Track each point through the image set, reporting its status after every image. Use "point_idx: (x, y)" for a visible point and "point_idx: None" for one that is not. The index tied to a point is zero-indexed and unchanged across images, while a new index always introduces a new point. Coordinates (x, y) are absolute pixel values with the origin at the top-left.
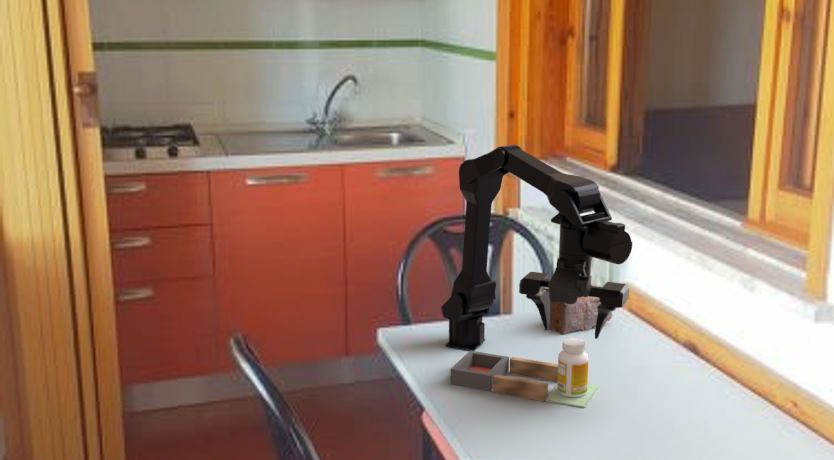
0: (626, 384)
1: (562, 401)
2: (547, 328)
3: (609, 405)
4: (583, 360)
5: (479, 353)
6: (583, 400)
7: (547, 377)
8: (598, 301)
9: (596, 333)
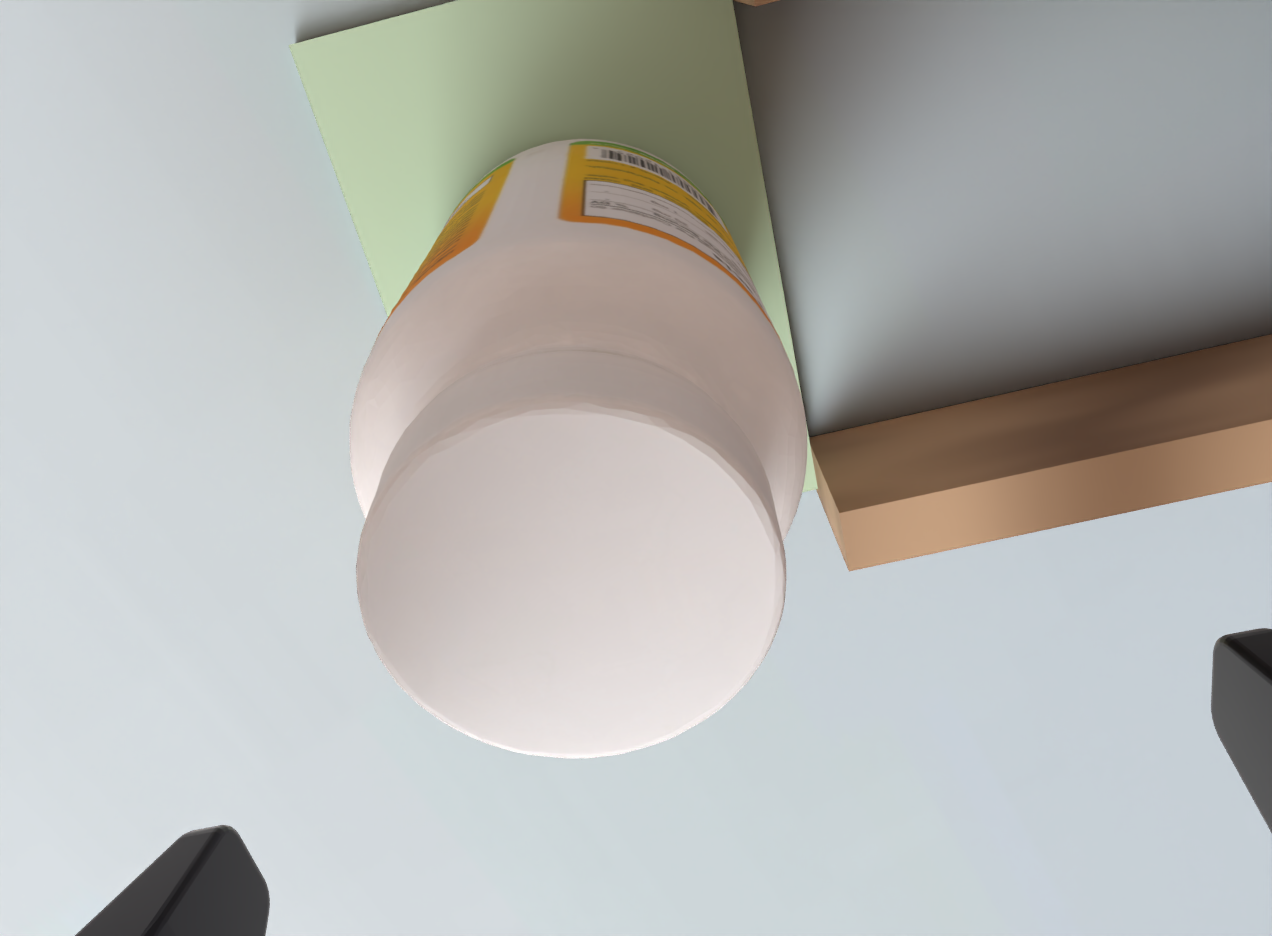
0: (329, 712)
1: (543, 8)
2: (1245, 675)
3: (157, 268)
4: (355, 404)
5: None
6: (384, 177)
7: (942, 421)
8: None
9: (135, 909)
